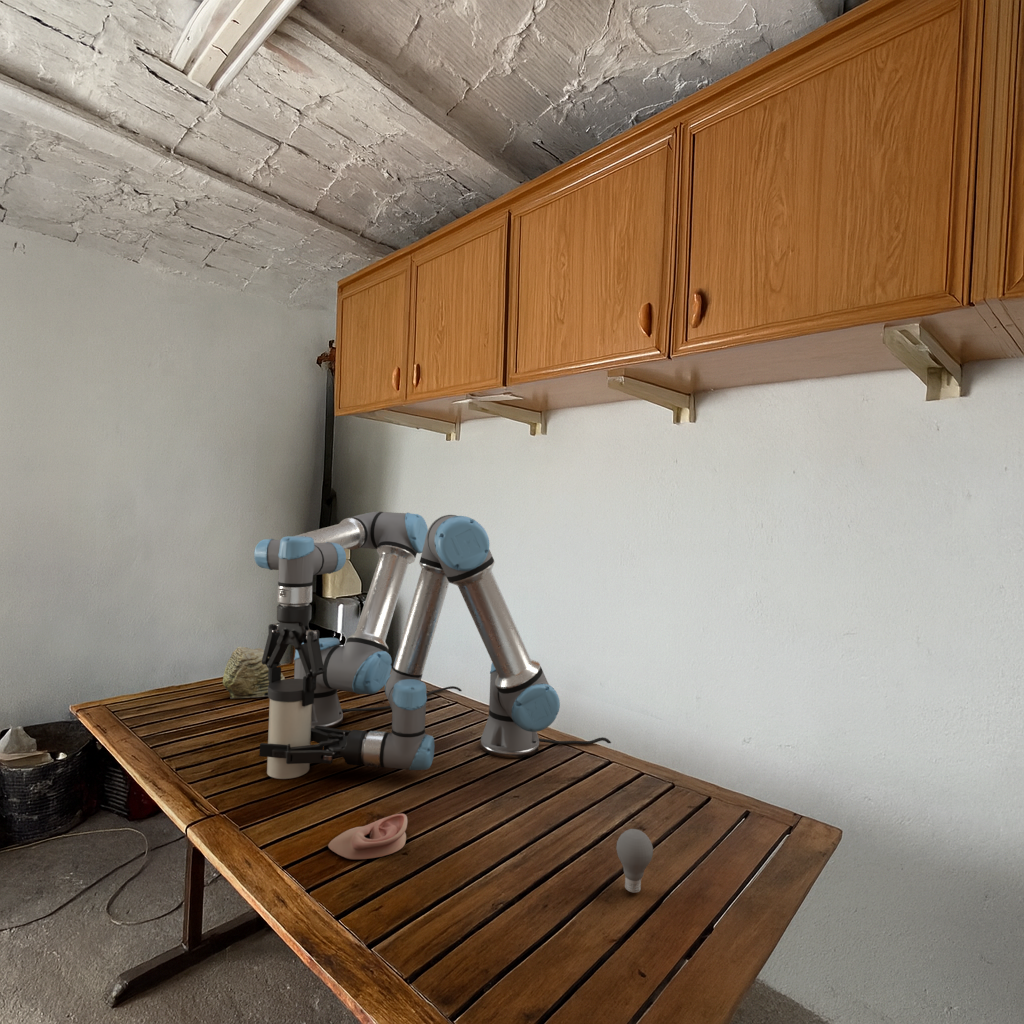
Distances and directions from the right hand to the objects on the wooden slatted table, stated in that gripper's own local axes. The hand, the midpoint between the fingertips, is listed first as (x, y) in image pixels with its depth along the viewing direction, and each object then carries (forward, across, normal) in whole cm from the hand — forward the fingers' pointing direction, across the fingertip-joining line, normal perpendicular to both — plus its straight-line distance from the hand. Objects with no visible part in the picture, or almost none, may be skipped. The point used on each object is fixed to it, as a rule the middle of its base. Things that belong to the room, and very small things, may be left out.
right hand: (270, 741), depth 146 cm
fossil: (+29, +50, -6) cm, 58 cm away
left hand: (-4, 0, +10) cm, 11 cm away
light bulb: (-79, -35, -6) cm, 87 cm away
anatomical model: (-32, -28, -6) cm, 43 cm away
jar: (-4, 0, -6) cm, 8 cm away
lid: (-4, 0, +13) cm, 14 cm away
